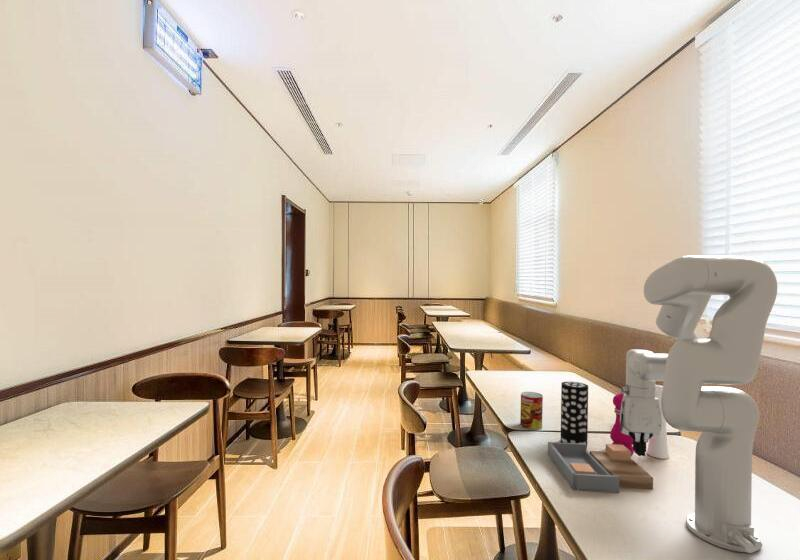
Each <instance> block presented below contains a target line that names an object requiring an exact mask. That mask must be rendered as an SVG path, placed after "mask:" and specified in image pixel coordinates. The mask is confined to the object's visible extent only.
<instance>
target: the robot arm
mask: <svg viewBox="0 0 800 560" xmlns="http://www.w3.org/2000/svg"><path fill="white" fill-rule="evenodd" d="M643 284H644V285H643V297H644V298H645V300H646V301H647V302H648V303H649V304H651V305H655V306H657V305H658V306H661V307H660V309H659V313H658V314H657V317H656V320H655V323H656V324H655V325H656V326H657V328H658V329H659V330H660V331H661V332H662V333H663V334H665V335H666V336H668V337H671V338H673V339H675V340H676V342H675V343H673V344H672V346H671V347H670V348H669V351H668V353H654V352H653V351H651V350H647V349H641V348H640V349H639V348H635V349H633V348H632V349H629V350H627V352H626V358H625V362H626V364H625V385H624V386H623V387H621V388H620V391H622V392H625V393H626V394H624V396H623V399H622V404H621V411H620V425H621V429H620V432H622V433H623V434H626V435H629V436H630V437H631V438H632V439H633V445H632V446H633V450H634V454H636V455H637V456H638V457H645V456H646V453H647V443H649V439H650V438H651V437H652V436H657V435H660V432H661V431H662V417H661V409H662V414H663V416H664V419H665V420H666V424H667V425H668V426H671V428H673V429H676V430H679V431H682V432H698V433H700V432H701V434H700V436H699V437H698V439H697V442H696V444H695V445H696V446H695V455H694V456H695V459H694V460H695V463H694V466H695V468H694V470H695V471H694V512H693V513H692V512H691V513H690V514H688V515H686V517H685V524H686V525H685V526H687V528H688V529H689V530H690V531H691V533H693V534H694V535H695V536H697V537H698V538H700V539H701V540H704V541H705V542H707V543H710V544H711V545H714V546H716V547H719V548H722V549H725V550H728V551H732V552H739V553H748V554H752V553H755V552H757V551H760V550H761V549H762V547H763V543H762V541H761V538H760V537H759V536H758V534H757V533H756V532H755V527H754V526H753V525H752V487H753V486H752V478H753V477H752V476H753V475H752V474H753V471H752V469H753V450H754V449H753V448H754V441H755V436H756V432H757V429H758V424H759V421H760V410H759V407H758V404H757V401H755V399H754V398H753V396H751V395H750V394H748V393H747V392H745V391H744V390H741V389H739V388H736V387H731V386H726V385H732V386H735V385H736V386H737V385H746V384H749V383H750V382H752V381H754V379H755V378H756V376H757V372H758V369H759V365H760V358H761V354H762V348H763V343H764V339H765V331H766V326H767V322H768V319H769V317H770V314H771V312H772V309H773V307H774V305H775V302H776V299H777V294H778V281H777V276H776V275H775V272H774V271H773V270H772V268H771V267H770V266H769V265H768V264H767V263H765V262H764V261H762V260H760V259H757V258H752V257H749V256H740V255H737V256H736V255H683V256H680V257H677V258H675V259H673V260H671V261H669V262H668V263H666V264H663V265H662V266H660V267H658V268H657V269H655V270H654V271H652V272H651V273H650V274H649V276H647V279H646V280H645V282H644V283H643ZM718 295H719V296H720V295H721V296H728V297H729V298H728V299H727V300H725V302H724V303H723V304H721V306H720V307H719V308H718V309H717V310H716V312H715V313H714V315H713V318H712V321H711V329H710V333H709V336H708V337H706V338H705V337H702V338H701V337H699V338H698V337H697V336H696V333H695V330H696V329H697V327H698V324H699V322H700V320H701V318H702V316H703V313H704V312H705V310H706V308H707V305H708V304H709V301H710V300H711V297H712V296H718ZM677 340H678V341H677ZM656 382H663V383H662V386H663V389H662V397H661V409H660V403H659V399H658V398H656V397H655V385H657V384H656ZM717 385H718V386H717ZM720 385H721V386H720ZM724 385H725V386H724Z"/></svg>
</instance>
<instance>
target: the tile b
mask: <svg viewBox="0 0 800 560" xmlns="http://www.w3.org/2000/svg"><path fill="white" fill-rule="evenodd" d="M605 452H606V453H607V454H608V455H609V456H610V457H611V458H612V459H616V460H631V459H632V454H631V451H630V450H629V449H627V448H626V447H625V446H624V445H617V444H612V443H605Z"/></svg>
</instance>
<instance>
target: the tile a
mask: <svg viewBox="0 0 800 560" xmlns="http://www.w3.org/2000/svg"><path fill="white" fill-rule="evenodd" d="M570 467H571V468H572V469H573V471H574V472H575V473H576V474H595V471H594V470H593V469H592V468H591V466H590V465H589V464H581V463H570Z"/></svg>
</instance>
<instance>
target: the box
mask: <svg viewBox="0 0 800 560" xmlns="http://www.w3.org/2000/svg"><path fill="white" fill-rule="evenodd" d="M547 455H548V457H549V459H550V460H551V461H552V463H553V464H554V465H555V466H556V468H557V469H558V471H559V472H560V474H561V475H562V477H563V478H564V479H565V481H566V482H567V483H568V485H569V486H570V487H571V489H572V490H573V491H577V490H578V491H581V492H596V491H597V493H600V492H601V493H615V494H617V493H618V494H619V493H620V487H619V478H620V477H619V476H615V475H611V474H610V473H609V472H608V471H607V470H606V469H605V468H604V467H603V466H602V465H601V464H600V463H599V462H598V461H597V460H596V459H595V458H594V457H593V456H592V455H591V454H590V451H588V443H587V444H581V443H561V442H559V441H558V442H555V441H554V442H553V441H548V442H547ZM570 463H581V464H589V465H590V466H591V468H592V469H593V470H594V471H595V474H576V473H575V472H574V471H573V469H572V468H571V467H570Z"/></svg>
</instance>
